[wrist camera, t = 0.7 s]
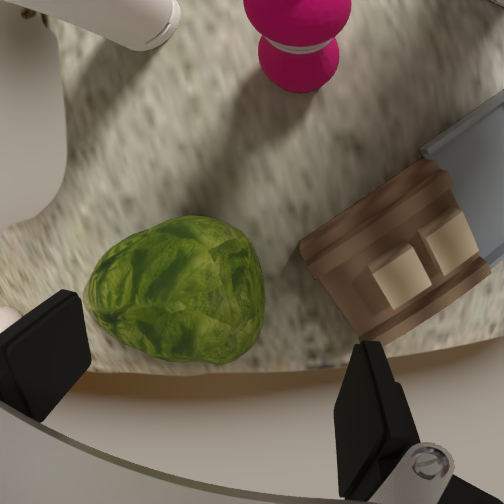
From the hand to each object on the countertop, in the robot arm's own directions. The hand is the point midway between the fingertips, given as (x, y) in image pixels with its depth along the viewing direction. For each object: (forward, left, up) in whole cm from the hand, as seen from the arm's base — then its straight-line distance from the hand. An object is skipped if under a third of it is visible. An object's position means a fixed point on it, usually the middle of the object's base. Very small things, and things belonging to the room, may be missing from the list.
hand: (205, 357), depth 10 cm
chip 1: (-7, +11, -21) cm, 25 cm away
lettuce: (+14, -1, -26) cm, 29 cm away
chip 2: (-13, +11, -21) cm, 28 cm away
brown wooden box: (-8, +11, -25) cm, 29 cm away
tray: (-24, +11, -25) cm, 37 cm away
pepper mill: (-11, -11, -25) cm, 30 cm away
